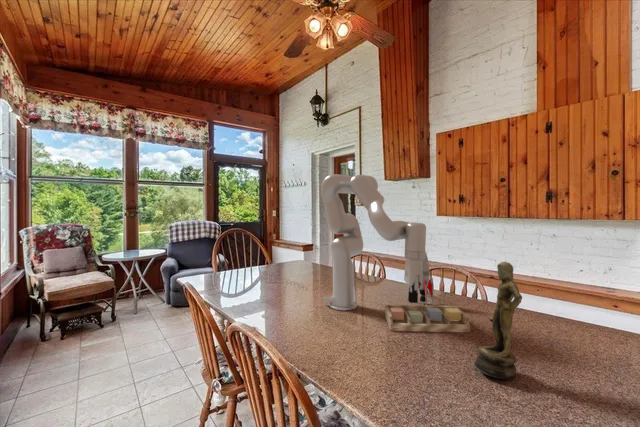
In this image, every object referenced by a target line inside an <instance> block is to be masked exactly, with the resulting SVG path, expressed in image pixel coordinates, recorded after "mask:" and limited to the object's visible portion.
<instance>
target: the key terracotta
mask: <svg viewBox="0 0 640 427" xmlns="http://www.w3.org/2000/svg"><path fill="white" fill-rule="evenodd" d="M390 312H391V314H392V319H404V311H403V309H402V308H390Z"/></svg>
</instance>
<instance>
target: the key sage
mask: <svg viewBox="0 0 640 427" xmlns="http://www.w3.org/2000/svg"><path fill="white" fill-rule="evenodd" d="M408 316H409V318H410V319H411V323H423V314H422V313H421V312H420V311H408Z"/></svg>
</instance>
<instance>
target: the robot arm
mask: <svg viewBox="0 0 640 427" xmlns="http://www.w3.org/2000/svg"><path fill="white" fill-rule="evenodd" d="M378 187H379V183H378V180H377V179H376V178H375V177H374V176H372V175H368V174H367V175H366V174H357V175H347V174H346V175H344V174H336V173H335V174H329V175H327V176H325V178H324V179H323V181H322V184H321V187H320V194H321V200H322V201H323V206H324V209H325V214H326V215H325V216H326V219H327V220H326V221H327V224H328V228H329V230H330V232H331V233H332V234H334V235H343V236H339V237H337V238H335V239H334V240H332V241H331V244H330V248H329V249H330V250H329V251H330V255H331V261H332V294H331V295H330V296H322V299H323V302H325V303H329V307H330V308H332V309H333V310H337V311H352V310H355V309H357V307H358V303H357V302H356V301H355V278H354V277H355V276H354V275H355V272H354V271H355V268H354V263H353V260H352V257H354V256H355V257H356V256H358V255H360V254H361V253H362V252H363V250H364V241H363V236H362V231H361V227H360V223H359V220H358V219H357V217H356V215H354V214H352V213H348V212H347V213H346V211H345V208H344V203H343V201H342V199H341V198H340V195H339V194H347V195H349V194H350V195H355V197H356V198H357V199H358V200H359V201H360V203H361V204H362V205H363V206H364V208H366V210H367V215H368V218H369V221H370V224H371V225H372V226H373V228H374V229H375V231H376V232H377V233H378V235H379V236H380V237H381V238H382V239H383V240H386V241H388V242H393V241H399V240H404V259H405V262H404V263H405V265H404V274H403V275H404V276H403V280H404V282H405V283H406V285H407V286H408V297H407V298H408V299H407V301H408V302H409V304H410V303H411V304H418V302H419V300H418V298H419V297H418V296H419V288H418V286H422V276H423V265H422V260H425V252H426V241H427V239H426V238H427V225H426V224H425V223H423V222H409V221H404V220H392V219H391V218H390V217H389V215H388V214H387V213H386V212H385V210H384V208H383V205H384V203H385V198H384V196H383V195H382V194H381V192H380V191H378Z"/></svg>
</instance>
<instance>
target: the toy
mask: <svg viewBox="0 0 640 427" xmlns="http://www.w3.org/2000/svg"><path fill="white" fill-rule="evenodd" d="M422 265H423V276H422V286H418V289H419V294H420V297H419V301H420V302H421V303H425V306H428V292H429V294H430V297H431V303H434V278H433V277H431V279H430V262H429V258H428V255H427V252H426V251H425V260H422Z"/></svg>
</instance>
